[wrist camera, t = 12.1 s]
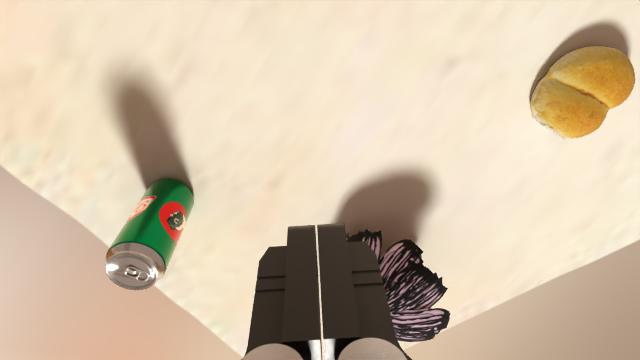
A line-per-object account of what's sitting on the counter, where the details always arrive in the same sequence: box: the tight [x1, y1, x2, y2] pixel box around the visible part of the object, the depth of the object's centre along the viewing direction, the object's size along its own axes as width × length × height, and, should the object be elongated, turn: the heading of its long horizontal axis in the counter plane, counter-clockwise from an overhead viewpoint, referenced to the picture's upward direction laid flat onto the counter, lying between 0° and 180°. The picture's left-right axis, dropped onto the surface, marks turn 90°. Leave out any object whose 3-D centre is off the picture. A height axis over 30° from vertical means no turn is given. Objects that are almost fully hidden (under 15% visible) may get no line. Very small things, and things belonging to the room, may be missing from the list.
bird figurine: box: [346, 229, 450, 342], centre depth 46 cm, size 15×12×15 cm
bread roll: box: [530, 46, 635, 139], centre depth 38 cm, size 8×9×4 cm
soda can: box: [105, 179, 194, 290], centre depth 39 cm, size 5×5×12 cm
